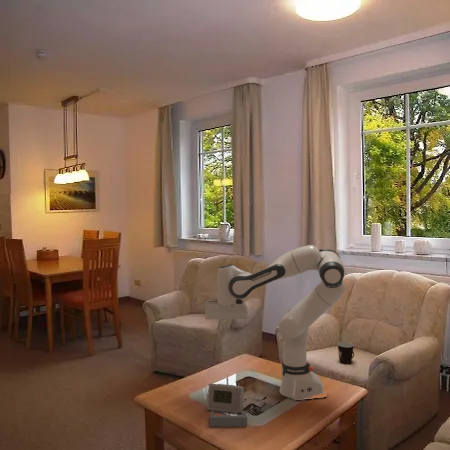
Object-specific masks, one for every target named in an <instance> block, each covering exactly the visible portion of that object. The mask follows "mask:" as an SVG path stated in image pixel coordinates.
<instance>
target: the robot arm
mask: <svg viewBox="0 0 450 450" xmlns="http://www.w3.org/2000/svg"><path fill="white" fill-rule="evenodd" d="M217 269H218V270H217V272H216V273H217V274H216V286H217V291H216V298H215V299H207V300H205V301H204V302H203V303H204V304H203V306H204V308H205V312H204V317H205V319H206V320H220V322H221V324H222V325H223V329H225V330H226V329H231V327H230V325H232V323H233V320H247V319H248V318H249V312H248V306H247V304H246V298H247V297H248V296H249V295H250V294H251V292H252V291H254V290H255V289H258V288H259V287H262V286H265V285H267V284H269V283H271V282H274V281H279V280H283V279H286V278H290V277H295V276H297V275H300V274H303V273H305V272H308V271H313V270H315V271H318V273H319V274H318V275H319V278H320V283H318V284H317V285H316V286H315V287H314V288H313V289H312V290H311V291H310V292H308V293H307V294H306V295H305V296H304V297H303V298H302V299H301V300H300V301H298V303H296V304H295V305H294V306H293V307H292V308H291V309H290V310H289V311H287V313H285V315H284V316H283V317H282V318H281V319H280V321H279V325H278V331H279V334H280V335H281V336H282V337H283V338H284V340H283V345H282V361H281V375H282V376H281V382H280V388H279V393H280V394H281V396H283V397H286V398H289V399H292V400H293V401H296V400H302V399H305V398H311V397H313V395H319V394H323V386H324V385H323V381H322V379H321V378H320V376H319V375H317V374H316V373H315V372H313V371H314V368H313V366H312V365H311V364H310V363H309V361H307V350H308V349H307V346H308V337H309V327H311V326H312V325H313V324H314V323H315V322H316V321H317V320H318V319H319V318H320V317H321V316H322V315H324V314H325V313H326V312H327V311H328V310H329V309H330V308H332V306H334V305H335V304H336V303H337V302H338V300H340V298H342V296H343V295H344V294H345V292H346V290H347V289H346V288H347V287H346V283H345V282H344V281H343V280H344V278H345V268H344V263H343V261H342V260H341V257H340V255H339V253H338V252H336V250H333V249H328V248H327V249H323V248H322V249H319V248H318V247H317V246H315V245H313V244H307V245H305V246H300V247H297V248H294V249H292V250H289V251H287V252H285V253H284V254H282V255H280V256H279V257H277V258H276V260H274V261H273V262H272V263H271V264H270V265H268V266H267V267H265V268H264V269H261V270H259V271H256V272H254V273H251V272H249V271H245V270H242V269H241V268H238V267H237V266H235V265H234V264H224V265H222V266H220V267H219V268H217ZM225 320H228V323H225ZM302 401H303V400H302Z"/></svg>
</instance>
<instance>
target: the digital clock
mask: <svg viewBox="0 0 450 450" xmlns="http://www.w3.org/2000/svg"><path fill="white" fill-rule="evenodd" d="M244 393H245V389H244V387H243V386H240V385H234V384H233V385H232V384H223V383H209V384H208V388H207V396H206V397H207V398H206V399H207V400H206V410H208V411H214V412H219V413H227V414H243V411H244Z"/></svg>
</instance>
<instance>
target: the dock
mask: <svg viewBox="0 0 450 450" xmlns="http://www.w3.org/2000/svg"><path fill="white" fill-rule="evenodd" d="M209 428H248V415H247V410H243V412H242V414H241V415H237V414H236V415H215V411H212V410H210V415H209Z"/></svg>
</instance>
